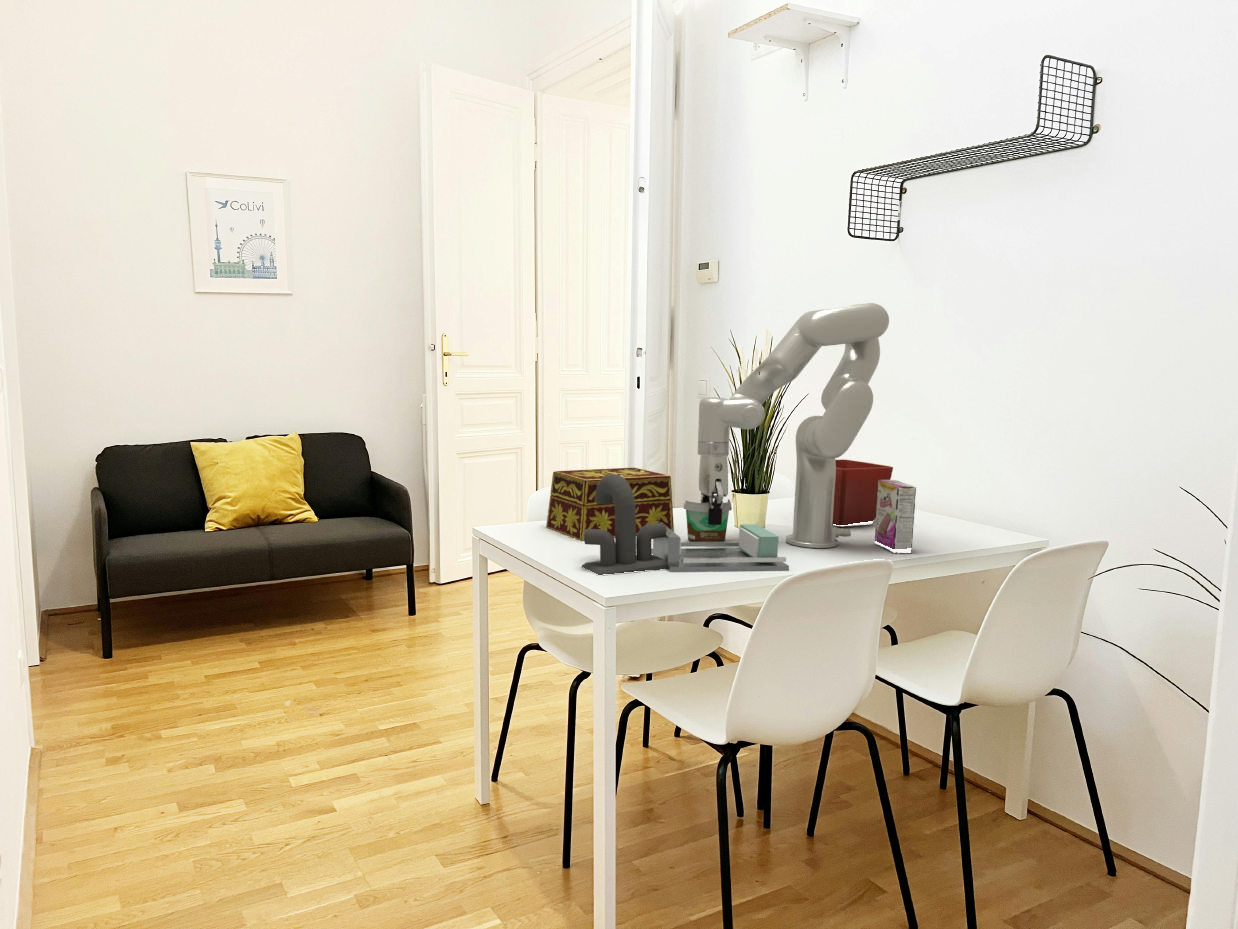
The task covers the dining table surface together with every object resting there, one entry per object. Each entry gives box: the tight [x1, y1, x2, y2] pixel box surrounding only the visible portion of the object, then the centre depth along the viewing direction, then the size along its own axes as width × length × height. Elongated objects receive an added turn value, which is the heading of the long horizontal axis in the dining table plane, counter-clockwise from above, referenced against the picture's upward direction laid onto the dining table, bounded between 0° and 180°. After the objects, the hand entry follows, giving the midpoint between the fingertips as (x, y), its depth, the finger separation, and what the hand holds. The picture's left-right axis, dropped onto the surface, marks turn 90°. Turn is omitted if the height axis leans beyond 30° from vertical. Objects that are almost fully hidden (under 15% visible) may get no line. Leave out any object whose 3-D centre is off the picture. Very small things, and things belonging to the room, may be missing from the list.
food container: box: [683, 498, 733, 542], centre depth 225 cm, size 12×6×10 cm, turn 105°
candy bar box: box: [874, 479, 917, 549], centre depth 224 cm, size 11×5×16 cm, turn 9°
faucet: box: [581, 474, 667, 576], centre depth 198 cm, size 18×16×20 cm
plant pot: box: [833, 459, 894, 525], centre depth 257 cm, size 19×19×17 cm
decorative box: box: [545, 467, 675, 542], centre depth 236 cm, size 28×19×15 cm
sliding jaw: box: [738, 523, 779, 563], centre depth 206 cm, size 4×14×6 cm, turn 11°
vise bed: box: [651, 525, 790, 573], centre depth 205 cm, size 26×18×7 cm
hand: (710, 521), depth 225 cm, fingers closed on food container, 6 cm apart
